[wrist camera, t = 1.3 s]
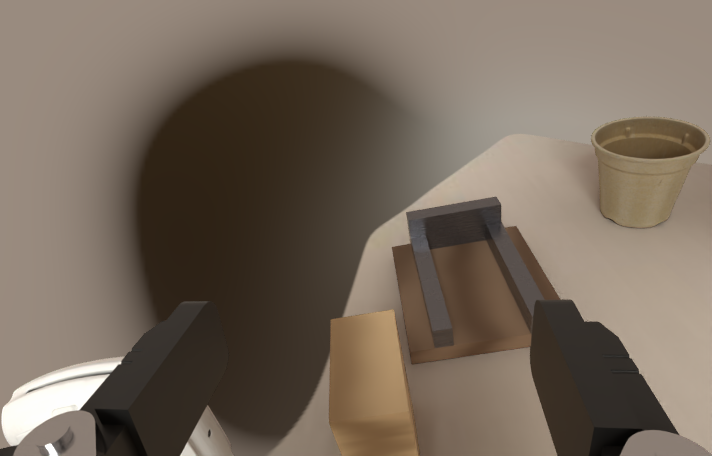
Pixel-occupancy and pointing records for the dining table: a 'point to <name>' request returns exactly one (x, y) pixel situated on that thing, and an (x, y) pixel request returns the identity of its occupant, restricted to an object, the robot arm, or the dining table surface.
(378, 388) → the oak plank
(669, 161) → the flower pot
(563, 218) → the dining table surface
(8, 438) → the photo printer
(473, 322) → the cradle
